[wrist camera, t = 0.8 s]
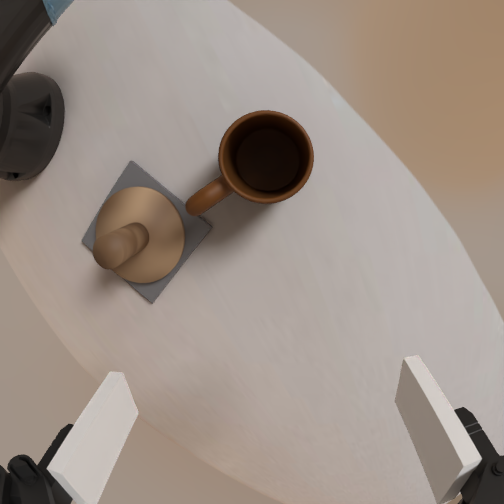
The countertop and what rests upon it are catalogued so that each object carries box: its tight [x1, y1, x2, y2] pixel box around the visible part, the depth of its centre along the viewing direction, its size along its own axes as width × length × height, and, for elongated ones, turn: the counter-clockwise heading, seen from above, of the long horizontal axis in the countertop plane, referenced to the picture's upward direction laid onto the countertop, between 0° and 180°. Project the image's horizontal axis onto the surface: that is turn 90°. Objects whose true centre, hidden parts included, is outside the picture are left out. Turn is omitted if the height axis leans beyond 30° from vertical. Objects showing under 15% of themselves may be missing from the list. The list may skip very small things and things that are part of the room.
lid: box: [93, 186, 185, 283], centre depth 31 cm, size 11×11×8 cm
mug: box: [185, 110, 314, 216], centre depth 28 cm, size 12×8×9 cm, turn 124°
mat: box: [82, 161, 212, 303], centre depth 35 cm, size 12×12×1 cm
